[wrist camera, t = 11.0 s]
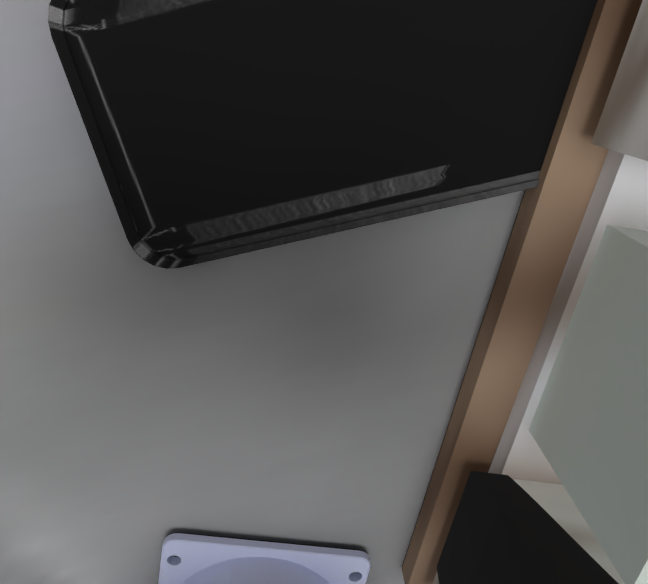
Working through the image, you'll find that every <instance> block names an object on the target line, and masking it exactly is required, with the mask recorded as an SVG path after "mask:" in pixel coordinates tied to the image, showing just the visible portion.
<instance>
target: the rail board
mask: <svg viewBox="0 0 648 584" xmlns="http://www.w3.org/2000/svg"><path fill="white" fill-rule="evenodd" d="M538 179H540V181H539V184H538V187H534V188H530V189H526V190H525V194H524V197H523V200H522V203H521V206H520V209H519V212H518V215H517V218H516V221H515V224H514V227H513V230H512V233H511V236H510V239H509V242H508V245H507V249H506V252H505V255H504V258H503V261H502V264H501V267H500V270H499V273H498V276H497V279H496V282H495V285H494V288H493V291H492V294H491V297H490V300H489V304H488V307H487V310H486V313H485V316H484V319H483V322H482V325H481V328H480V331H479V334H478V337H477V340H476V343H475V346H474V349H473V352H472V355H471V358H470V362H469V365H468V368H467V371H466V374H465V377H464V380H463V383H462V386H461V389H460V392H459V395H458V398H457V401H456V404H455V407H454V410H453V413H452V417H451V420H450V423H449V426H448V429H447V432H446V435H445V438H444V441H443V444H442V447H441V450H440V453H439V456H438V459H437V462H436V465H435V468H434V472H433V475H432V478H431V481H430V484H429V487H428V490H427V493H426V496H425V499H424V502H423V505H422V508H421V511H420V514H419V517H418V520H417V523H416V527H415V530H414V533H413V536H412V539H411V542H410V545H409V548H408V551H407V554H406V557H405V560H404V563H403V566H402V572H403V576H404V581H405V584H439V580H438V574H437V564H438V561H439V558H440V556H441V553H442V550H443V547H444V545H445V542H446V539H447V536H448V533H449V531H450V528H451V525H452V522H453V519H454V517H455V514H456V511H457V508H458V506H459V503H460V500H461V497H462V494H463V492H464V489H465V486H466V483H467V480H468V478H469V475H470V472H471V471H477V472H486V473H494V474H503V475H508V476H510V477H511V478H512V479H513V480H514V481H515V482H516V483H517V484H518V485H520V486H521V487H522V488H523V489H524V490H525V491H526V492H527V493H528V494H529V495H530V496H531V497H532V498H533V499H534V500H535V501H536V502H537V503H538V504H539V505H540V506H541V507H542V508H543V509H544V510H545V511H546V512H547V513H548V514H549V515H550V516H551V517H552V518H553V519H554V520H555V521H556V522H557V523H558V524H559V525H560V526H561V527H562V528H563V529H564V530H565V531H566V532H567V533H568V534H569V535H570V536H571V537H572V538H573V539H574V540H575V541H576V542H577V543H578V544H579V545H580V546H581V547H582V548H583V549H584V550H585V551H586V552H587V553H588V554H589V555H590V556H591V557H592V558H593V559H594V560H595V561H596V562H597V563H598V564H599V565H600V566H601V567H602V568H603V569H604V570H605V571H606V572H607V573H608V574H609V575H611V576H612V577H613V578H614V579H615V580H616V581H617V582H618V583H619V584H625V583H624V581H623V580H622V578H621V577H620V575H619V574H618V572H617V570H616V569H615V567H614V566H613V564H612V562H611V561H610V559H609V558H608V556H607V554H606V553H605V551H604V550H603V548H602V546H601V545H600V543H599V542H598V540H597V538H596V537H595V535H594V534H593V532H592V531H591V529H590V527H589V526H588V524H587V523H586V521H585V519H584V518H583V516H582V515H581V513H580V511H579V510H578V508H577V507H576V505H575V503H574V502H573V500H572V499H571V497H570V496H569V494H568V492H567V491H566V489H565V488H564V486H563V484H562V483H561V481H560V480H559V478H558V476H557V475H556V473H555V472H554V470H553V468H552V467H551V465H550V464H549V462H548V460H547V459H546V457H545V456H544V454H543V453H542V451H541V449H540V448H539V446H538V445H537V443H536V441H535V440H534V438H533V437H532V435H531V433H530V432H529V428H530V425H531V423H532V420H533V417H534V415H535V412H536V409H537V407H538V404H539V402H540V399H541V396H542V394H543V391H544V389H545V386H546V383H547V381H548V378H549V375H550V373H551V370H552V368H553V365H554V362H555V360H556V357H557V354H558V352H559V349H560V347H561V344H562V341H563V339H564V336H565V334H566V331H567V328H568V326H569V323H570V320H571V318H572V315H573V313H574V310H575V307H576V305H577V302H578V299H579V297H580V294H581V292H582V289H583V286H584V284H585V281H586V279H587V276H588V273H589V271H590V268H591V265H592V263H593V260H594V258H595V255H596V252H597V250H598V247H599V244H600V242H601V239H602V237H603V234H604V231H605V229H606V226H607V225H612V226H618V227H624V228H630V229H636V230H642V231H648V0H598V1H597V4H596V7H595V10H594V13H593V16H592V19H591V22H590V25H589V28H588V31H587V34H586V37H585V40H584V42H583V45H582V48H581V51H580V54H579V57H578V60H577V63H576V66H575V69H574V72H573V75H572V78H571V81H570V84H569V87H568V90H567V93H566V96H565V99H564V102H563V105H562V108H561V111H560V114H559V117H558V120H557V123H556V126H555V129H554V132H553V135H552V138H551V141H550V144H549V147H548V150H547V153H546V156H545V159H544V162H543V165H542V168H541V171H540V174H539V177H538Z"/></svg>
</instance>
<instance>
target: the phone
mask: <svg viewBox="0 0 648 584" xmlns="http://www.w3.org/2000/svg"><path fill="white" fill-rule="evenodd" d="M597 1H598V0H51V2H50V4H49V15H48V23H49V27H50V32H51V36H52V39H53V42H54V44H55V47H56V50H57V52H58V55H59V58H60V60H61V63H62V66H63V68H64V71H65V74H66V76H67V79H68V82H69V84H70V87H71V90H72V92H73V95H74V98H75V100H76V103H77V106H78V108H79V111H80V114H81V116H82V119H83V122H84V124H85V127H86V130H87V132H88V135H89V138H90V141H91V143H92V146H93V149H94V151H95V154H96V157H97V159H98V162H99V165H100V167H101V170H102V173H103V175H104V178H105V181H106V183H107V186H108V189H109V191H110V194H111V197H112V199H113V202H114V205H115V207H116V210H117V213H118V215H119V218H120V221H121V223H122V226H123V229H124V231H125V234H126V237H127V239H128V241H129V243H130V245H131V247H132V248H133V250H134V251H135V252H136V253H137V254H138V255H139V256H140V257H141V258H142V259H143V260H145V261H147V262H148V263H150V264H152V265H154V266H158V267H162V268H180V267H184V266H189V265H193V264H198V263H202V262H206V261H211V260H215V259H220V258H224V257H229V256H233V255H237V254H242V253H246V252H251V251H255V250H260V249H264V248H268V247H273V246H277V245H282V244H286V243H291V242H295V241H299V240H304V239H308V238H313V237H317V236H322V235H326V234H330V233H335V232H339V231H344V230H348V229H353V228H357V227H362V226H366V225H370V224H375V223H379V222H384V221H388V220H393V219H397V218H401V217H406V216H410V215H415V214H419V213H424V212H428V211H432V210H437V209H441V208H446V207H450V206H455V205H459V204H464V203H468V202H472V201H477V200H481V199H486V198H490V197H495V196H499V195H503V194H508V193H512V192H517V191H521V190H526V189H530V188H534V187H538V184H539V181H540V179H538V177H539V174H540V171H541V168H542V165H543V162H544V159H545V156H546V153H547V150H548V147H549V144H550V141H551V138H552V135H553V132H554V129H555V126H556V123H557V120H558V117H559V114H560V111H561V108H562V105H563V102H564V99H565V96H566V93H567V90H568V87H569V84H570V81H571V78H572V75H573V72H574V69H575V66H576V63H577V60H578V57H579V54H580V51H581V48H582V45H583V42H584V40H585V37H586V34H587V31H588V28H589V25H590V22H591V19H592V16H593V13H594V10H595V7H596V4H597Z"/></svg>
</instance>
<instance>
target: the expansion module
mask: <svg viewBox="0 0 648 584" xmlns="http://www.w3.org/2000/svg"><path fill="white" fill-rule="evenodd" d="M529 432H530V433H531V435H532V437H533V438H534V440H535V441H536V443H537V445H538V446H539V448H540V449H541V451H542V453H543V454H544V456H545V457H546V459H547V460H548V462H549V464H550V465H551V467H552V468H553V470H554V472H555V473H556V475H557V476H558V478H559V480H560V481H561V483H562V484H563V486H564V488H565V489H566V491H567V492H568V494H569V496H570V497H571V499H572V500H573V502H574V503H575V505H576V507H577V508H578V510H579V511H580V513H581V515H582V516H583V518H584V519H585V521H586V523H587V524H588V526H589V527H590V529H591V531H592V532H593V534H594V535H595V537H596V538H597V540H598V542H599V543H600V545H601V546H602V548H603V550H604V551H605V553H606V554H607V556H608V558H609V559H610V561H611V562H612V564H613V566H614V567H615V569H616V570H617V572H618V574H619V575H620V577H621V578H622V580H623V581H624V583H625V584H648V231H642V230H636V229H630V228H624V227H618V226H612V225H607V226H606V229H605V231H604V234H603V237H602V239H601V242H600V244H599V247H598V250H597V252H596V255H595V258H594V260H593V263H592V265H591V268H590V271H589V273H588V276H587V279H586V281H585V284H584V286H583V289H582V292H581V294H580V297H579V299H578V302H577V305H576V307H575V310H574V313H573V315H572V318H571V320H570V323H569V326H568V328H567V331H566V334H565V336H564V339H563V341H562V344H561V347H560V349H559V352H558V354H557V357H556V360H555V362H554V365H553V368H552V370H551V373H550V375H549V378H548V381H547V383H546V386H545V389H544V391H543V394H542V396H541V399H540V402H539V404H538V407H537V409H536V412H535V415H534V417H533V420H532V423H531V425H530V428H529Z"/></svg>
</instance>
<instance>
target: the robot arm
mask: <svg viewBox="0 0 648 584" xmlns="http://www.w3.org/2000/svg"><path fill="white" fill-rule="evenodd" d="M172 555H176V556H179V557H174V556H172ZM369 570H370V558H369V556H368V554H367V553H365V552H363V551H358V550H348V549H337V548H327V547H316V546H306V545H295V544H285V543H275V542H264V541H254V540H243V539H233V538H222V537H212V536H202V535H191V534H181V533H174V534H170V535H168V536H167V537H166V538H165V539H164V542H163V546H162V552H161V562H160V571H159V580H158V584H366V580H367V577H368V574H369ZM352 572H357V573H352ZM437 574H438V580H439V584H619V583H618V582H617V581H616V580H615V579H614V578H613V577H612V576H611V575H609V574H608V573H607V572H606V571H605V570H604V569H603V568H602V567H601V566H600V565H599V564H598V563H597V562H596V561H595V560H594V559H593V558H592V557H591V556H590V555H589V554H588V553H587V552H586V551H585V550H584V549H583V548H582V547H581V546H580V545H579V544H578V543H577V542H576V541H575V540H574V539H573V538H572V537H571V536H570V535H569V534H568V533H567V532H566V531H565V530H564V529H563V528H562V527H561V526H560V525H559V524H558V523H557V522H556V521H555V520H554V519H553V518H552V517H551V516H550V515H549V514H548V513H547V512H546V511H545V510H544V509H543V508H542V507H541V506H540V505H539V504H538V503H537V502H536V501H535V500H534V499H533V498H532V497H531V496H530V495H529V494H528V493H527V492H526V491H525V490H524V489H523V488H522V487H521V486H520V485H518V484H517V483H516V482H515V481H514V480H513V479H512V478H511V477H510V476H508V475H503V474H494V473H486V472H477V471H471V472H470V475H469V478H468V480H467V483H466V486H465V489H464V492H463V494H462V497H461V500H460V503H459V506H458V508H457V511H456V514H455V517H454V519H453V522H452V525H451V528H450V531H449V533H448V536H447V539H446V542H445V545H444V547H443V550H442V553H441V556H440V558H439V561H438V564H437Z"/></svg>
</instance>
